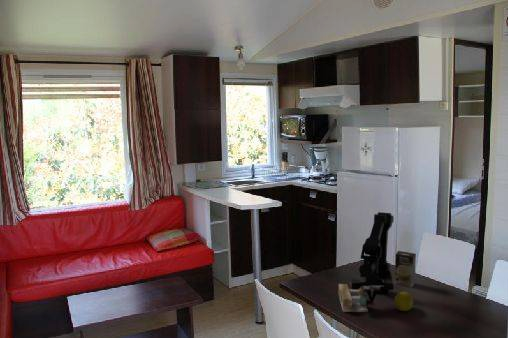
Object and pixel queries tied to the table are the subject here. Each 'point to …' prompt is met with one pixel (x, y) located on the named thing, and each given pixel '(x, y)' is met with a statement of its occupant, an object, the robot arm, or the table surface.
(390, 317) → the table surface
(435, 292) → the table surface
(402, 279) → the coffee box
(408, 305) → the lemon
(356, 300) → the teal knob
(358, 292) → the terracotta knob
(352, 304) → the mount
